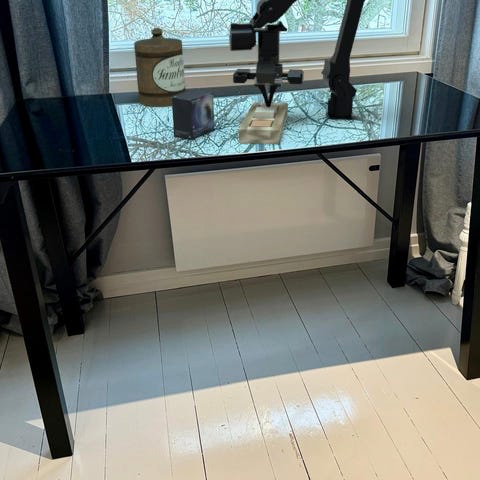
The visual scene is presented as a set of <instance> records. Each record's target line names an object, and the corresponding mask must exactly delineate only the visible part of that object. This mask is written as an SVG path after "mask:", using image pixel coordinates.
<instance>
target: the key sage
mask: <svg viewBox="0 0 480 480" xmlns="http://www.w3.org/2000/svg"><path fill="white" fill-rule="evenodd" d="M260 107H266V105H260ZM270 107H275V111H278V106H275V105H271V106H270Z"/></svg>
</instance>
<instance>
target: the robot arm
mask: <svg viewBox="0 0 480 480" xmlns="http://www.w3.org/2000/svg"><path fill="white" fill-rule="evenodd" d="M297 1H298V0H259V1H258V2H257V5H256V12H255V13H254V15H253V16H252V18H251V19H250V20H249V22H247V23H237V22H231V23H230V25H229V35H228V37H229V38H228V41H229V44H228V45H229V50H230V52H238V51H239V52H240V51H252V50H253V48H255V47H256V46H257V63H256V66H255V68H256V69H255V72H253V71H252V72H251V69H250V68H237V69H236V70H235V71H234V72H233V74H232V75H233V76H232V82H233V84H245V83H246V82H247V81H248V80H254V85H253V86H254V87H257V88H258V89H259V91H260V92H261V95H262V97H263V102H265V104H266V107H270V106H271V103H273V100H274V97H275V93H276V90H277V88H280V87H282V85H283V84H284V81H286V80H287V82H288V83H289V84H290V85H302V84H303V83H304V80H305V79H304V76H305V74H304V73H305V72H304V71H303V69H301V68H300V69H295V68H293V69H291V68H290V69H289V70H288V72H283V71H284V67H283V65H284V64H282V63H280V41H281V40H280V38H281V36H280V35H281V34H280V32H288V28H287V27H286V26H285V25H284V24H283V22H282V21H281V20H279V19H281V18H282V17H283V16H284V15H285V14H286V13H287V11H288V10H290V8H291V7H292V6H293V4H295V2H297ZM365 1H366V0H346V3H345V7H344V12H343V17H342V20H341V23H340V28H339V31H338V36H337V40H336V42H335V43H336V44H335V47H334V51H333V55H332V56H331V58H330V59H328V58H325V59H324V63H323V64H324V65H323V69H322V71H321V73H320V74H321V75H322V80H323V83H325V85H326V86H327V87H328V88H329V91H330V96H329V98H328V99H327V116H328V119H333V120H334V119H335V120H337V119H338V120H353V108H354V107H353V106H354V98H355V96H356V95H357V92H358V89H356V88H355V87H354V85H353V84H352V83H350V78H351V77H350V76H351V75H350V74H351V62H350V61H351V60H350V59H351V54H352V50H353V46H354V42H355V38H356V34H357V31H358V27H359V23H360V19H361V15H362V12H363V9H364V4H365ZM276 22H277V23H276ZM264 27H265V28H264ZM268 84H269V85H268Z"/></svg>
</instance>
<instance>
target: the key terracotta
mask: <svg viewBox="0 0 480 480" xmlns="http://www.w3.org/2000/svg"><path fill="white" fill-rule="evenodd" d="M251 126H252V127H272V121H260V120H253V122H252V124H251Z"/></svg>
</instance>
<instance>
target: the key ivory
mask: <svg viewBox="0 0 480 480" xmlns="http://www.w3.org/2000/svg"><path fill="white" fill-rule="evenodd" d="M254 118H273V119H275V107H257V108H256V110H255V112H254Z"/></svg>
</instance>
